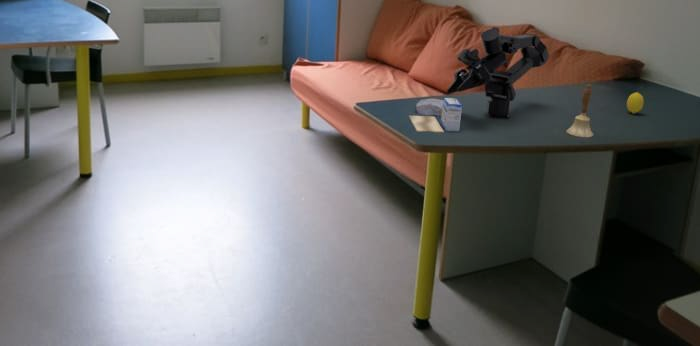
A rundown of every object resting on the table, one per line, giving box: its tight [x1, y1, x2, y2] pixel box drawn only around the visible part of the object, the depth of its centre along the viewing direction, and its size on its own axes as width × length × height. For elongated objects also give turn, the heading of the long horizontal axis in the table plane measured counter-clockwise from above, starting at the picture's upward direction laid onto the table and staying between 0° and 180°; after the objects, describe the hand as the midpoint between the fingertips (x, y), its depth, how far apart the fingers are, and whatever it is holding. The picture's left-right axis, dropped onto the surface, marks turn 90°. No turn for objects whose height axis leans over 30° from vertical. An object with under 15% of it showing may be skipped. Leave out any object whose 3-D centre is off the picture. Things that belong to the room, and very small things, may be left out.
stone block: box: [415, 98, 444, 117], centre depth 247 cm, size 12×5×10 cm
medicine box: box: [440, 97, 463, 132], centre depth 228 cm, size 8×4×9 cm, turn 5°
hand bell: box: [565, 84, 594, 139], centre depth 230 cm, size 8×8×16 cm
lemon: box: [626, 91, 645, 115], centre depth 261 cm, size 6×6×8 cm
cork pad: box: [408, 115, 445, 134], centre depth 231 cm, size 8×17×1 cm, turn 4°
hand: (452, 91), depth 232 cm, fingers open, 9 cm apart
